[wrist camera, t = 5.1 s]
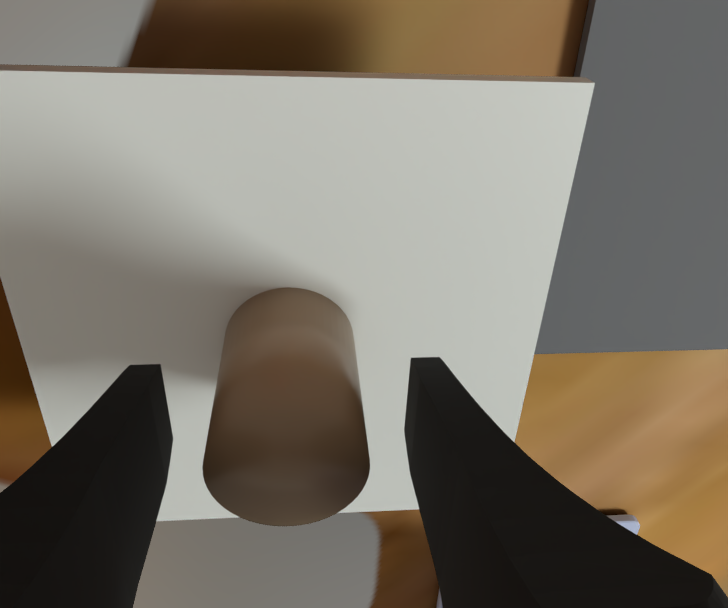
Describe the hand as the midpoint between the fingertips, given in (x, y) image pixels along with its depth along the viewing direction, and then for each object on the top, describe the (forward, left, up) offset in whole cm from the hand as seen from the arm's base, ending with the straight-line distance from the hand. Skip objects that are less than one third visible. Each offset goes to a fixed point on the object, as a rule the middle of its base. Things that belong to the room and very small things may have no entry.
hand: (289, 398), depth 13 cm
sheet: (0, 0, -2) cm, 2 cm away
